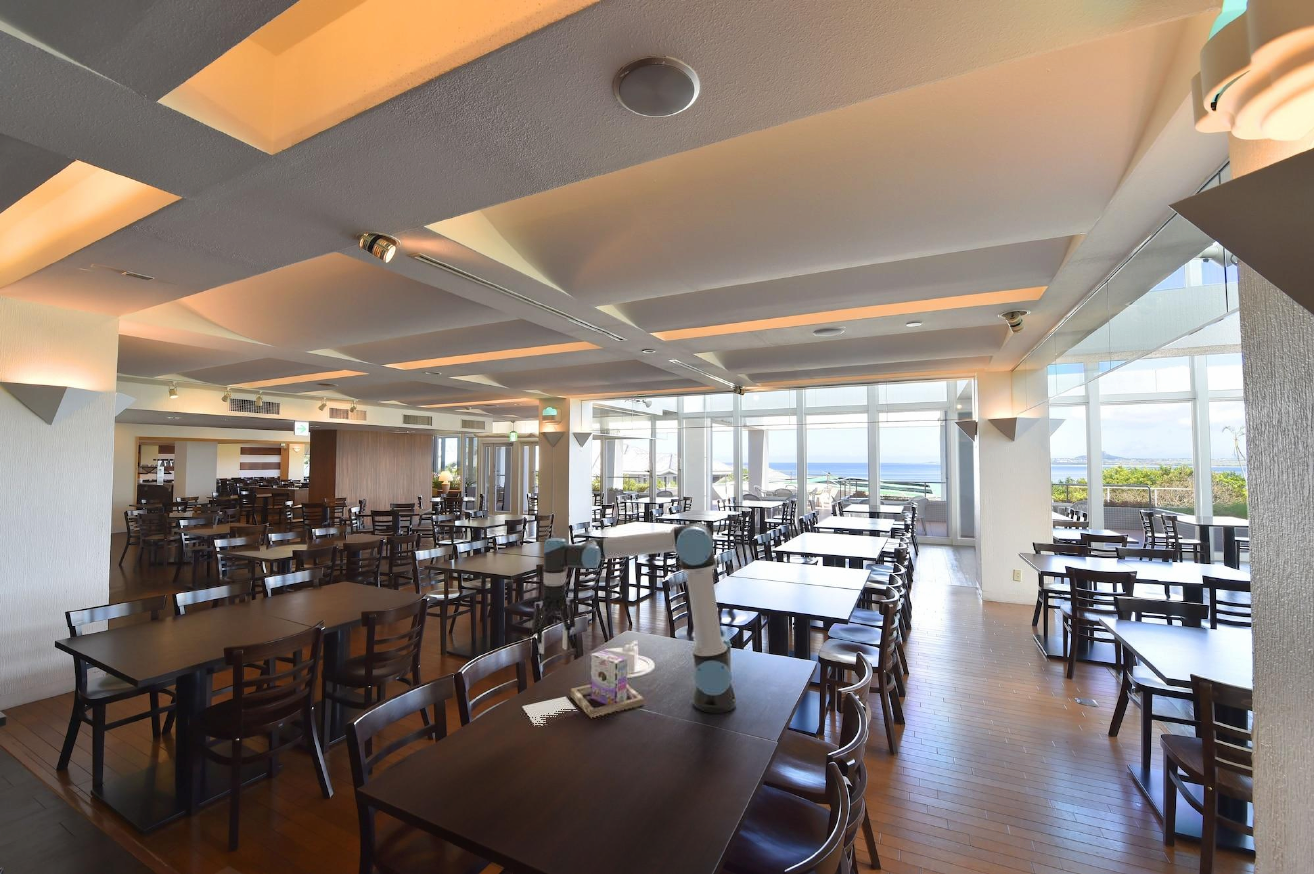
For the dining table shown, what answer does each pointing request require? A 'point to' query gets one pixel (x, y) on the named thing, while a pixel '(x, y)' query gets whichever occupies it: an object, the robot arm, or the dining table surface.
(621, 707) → the pocket frame
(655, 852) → the dining table surface
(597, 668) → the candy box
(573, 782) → the dining table surface
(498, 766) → the dining table surface
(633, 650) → the dish
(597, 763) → the dining table surface
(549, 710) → the place mat
